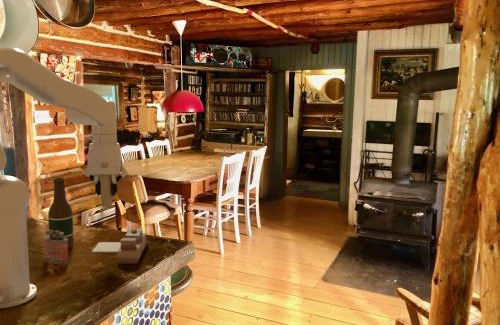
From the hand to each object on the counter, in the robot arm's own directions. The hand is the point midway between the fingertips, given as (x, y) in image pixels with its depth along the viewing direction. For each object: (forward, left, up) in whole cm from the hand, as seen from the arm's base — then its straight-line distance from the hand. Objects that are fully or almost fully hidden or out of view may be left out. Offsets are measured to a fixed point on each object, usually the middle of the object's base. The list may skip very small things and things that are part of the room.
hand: (106, 194), depth 137 cm
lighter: (-8, +14, -20) cm, 26 cm away
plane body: (-1, -8, -20) cm, 21 cm away
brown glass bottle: (+5, +17, -20) cm, 26 cm away
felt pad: (+4, +1, -20) cm, 20 cm away
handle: (0, 0, -4) cm, 4 cm away
